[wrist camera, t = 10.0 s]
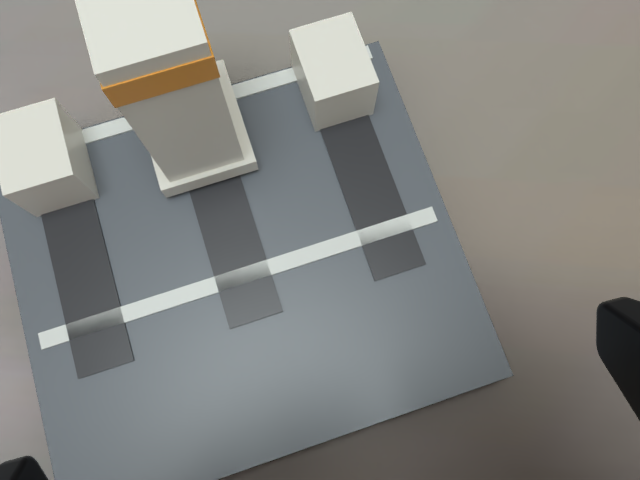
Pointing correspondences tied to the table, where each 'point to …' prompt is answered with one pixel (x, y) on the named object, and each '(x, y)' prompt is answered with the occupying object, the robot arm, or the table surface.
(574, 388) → the table surface
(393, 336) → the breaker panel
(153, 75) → the block
